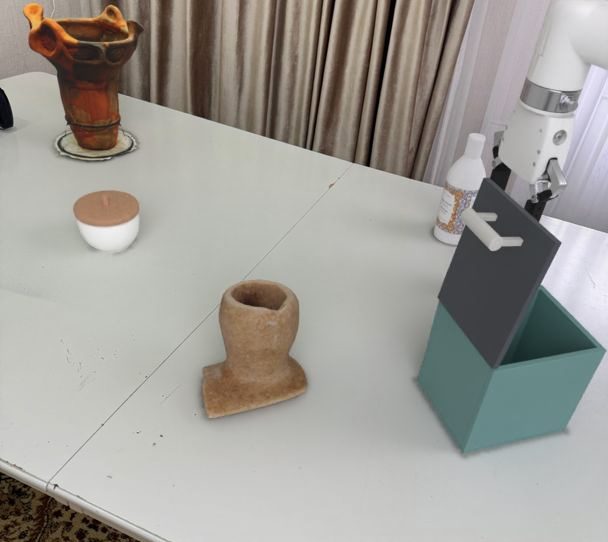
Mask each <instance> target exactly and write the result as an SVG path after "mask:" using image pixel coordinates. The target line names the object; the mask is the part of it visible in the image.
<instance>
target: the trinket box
mask: <svg viewBox="0 0 608 542" xmlns="http://www.w3.org/2000/svg"><path fill="white" fill-rule="evenodd" d="M72 211H73V215H74V218H75V221H76V225H77V228H78V231H79V233H80V235H81V237H82V238H83V239H84V241H85V242H86V243H87V244H88V245H89V246H91V247H92V248H94V249H95V250H98V251H99V252H102V253H108V254H111V253H118V252H119V253H120V252H122V251H124V250H126V249H127V248H128V247H129V246H131V244H133V243H134V241H135V240H136V238H137V237H138V234H139V230H140V223H141V221H140V220H141V218H140V217H141V216H140V202H139V200H138V199H137V198H136V197H135V196H133V195H132V194H131V193H128V192H125V191H121V190H111V189H110V190H108V189H107V190H106V189H105V190H98V191H93V192H90V193H87V194H84V195H82V196H81V197H79V198H78V199H77V200H76V201H75V202H74V204H73V206H72Z"/></svg>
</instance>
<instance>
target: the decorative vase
mask: <svg viewBox="0 0 608 542" xmlns="http://www.w3.org/2000/svg"><path fill="white" fill-rule="evenodd" d="M22 13H23V15H24V17H25V19H27V21H28V24H29V30H30V31H29V33H28V36H27V37H28V39H27V41H28V47H29V48H30V50H31V51H33V52H35V53H37V54H39V55H40V56H42V57H43V58H44V59H46V60H47V61H48V62H49V63H50V64H51V65H52V66H53V67H54V68H55V70H56V78H57V84H58V88H59V95H60V101H61V104H62V108H63V112H64V114H65V115H64V119H65V122H66V126H65V127H68V126H69V129H70V131H69V130H68V131H65V132H64V133H62V134H59V135H58V136H57V137H55V142H54V147H55V149H56V150H55V151H57V152H60V153H59V155H62V156H69V157H70V158H73V159H79V160H83V161H84V160H86V161H103V160H110V159H112V157H114V156H121V155H123V154H125V153H129V152H133V151H134V150H137V149H138V148H137V147H136V146H137V145H138V143H137V142H136V139H135V138H134V136H132V135H131V134H130V133H128V132H125V131H124V130H123V129H121V130H120V127H122V125H121V120H122V117H121V115H120V99H119V82H120V71H121V69H122V68H123V66H124V65H125V64H127V62H128V61H129V60H131V58H132V56H133V54H134V53H135V51H136V50H137V47H138V42H139V37H140V35H141V34H142V33H143V32H145V28H144V26H143V25H142V24H141V23H139V22H138V21H136V20H134V19H130V18H129V19H127V20H125V19H124V16H123V14H122V12H121V10H120V9H119V7H117V6H115V5H112V4H110V5H108V6H106V7H105V9H104V10H103V12H102V13H101V14H99V15H97V16H95V17H57V18H51V17H44V6H42V5H41V4H40V3H37V2H30V3H28V4H27V5H24V8H23V9H22Z"/></svg>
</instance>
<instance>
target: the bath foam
mask: <svg viewBox="0 0 608 542" xmlns="http://www.w3.org/2000/svg"><path fill="white" fill-rule="evenodd" d="M486 140H487V139H486V136H485V135H484V134H482V133H477V132H472V133H469V135H468V136H467V140H466V145H465V149H464V153H463V155H462V156H460V157H459V158H457V160H456V161H455V162H454V163H453V164H452V165H451V167H450V168H449V171H448V172H447V175H446V178H445V182H444V185H443V191H442V195H441V199H440V203H439V208H438V211H437V215H436V219H435V224H434V228H433V235H434V237H435V238H436V239H437V240H438V241H440V242H442V243H444V244H447V245H453V246H457V245H458V242H459V240H460V237H461V235H462V232H463V229H464V227H465V223H464V222H463V221H462V220H461V213H462V212H463V211H464V210H465V209H467V208H472V206H473V204H474V201H475V198H476V196H477V193H478V191H479V188H480V186H481V183H482V180H483V178H487V175H486V169H485V166H484V162H483V160H482V158H481V157H482V153H483V150H484V146H485V143H486Z"/></svg>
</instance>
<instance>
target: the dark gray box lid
mask: <svg viewBox="0 0 608 542" xmlns="http://www.w3.org/2000/svg"><path fill="white" fill-rule="evenodd" d="M461 220H462V221H463V222H464V223H465V227H464V229H463V232H462V235H461V237H460V240H459V242H458V245H456V247H455V250H454V252H453V256H452V258H451V261H450V263H449V266H448V268H447V271H446V273H445V276H444V279H443V281H442V283H441V286H440V289H439V291H438V294H437V296H436V298H437V299H438V302H439V301H440V302H441V303H442V304H443V306H444V307H445V308H446V310H447V311H448V312H449V314H450V315H451V316H452V317H453V319H454V320H455V321H456V323H457V324H458V325H459V327H460V328H461V329H462V330H463V332H464V333H465V334H466V336H467V337H468V338H469V340H470V341H471V342H472V344H473V345H474V346H475V347H476V349H477V350H478V351H479V353H480V354H481V355H482V357H483V358H484V359H485V360H486V362H487V363H488V364H489V366H490V367H491V368H492V369H498V367H499V365H500V363H501V361H502V359H503V357H504V355H505V353H506V352H507V350H508V348H509V346H510V344H511V342H512V340H513V338H514V336H515V334H516V332H517V330H518V328H519V326H520V324H521V322H522V320H523V318H524V316H525V314H526V312H527V310H528V308H529V306H530V304H531V302H532V300H533V298H534V297H535V295H536V293H537V291H538V289H539V287H540V285H542V283H543V281H544V279H545V278H546V277H545V276H546V275H547V273H548V271H549V269H550V267H551V265H552V264H553V261H554V259H555V257H556V256H557V254H558V251H559V249H560V247H561V246H562V244H563V243H562V241H561V240H560V239H559V238H557V237H556V236H555V235H554V234H553V233H552V232H551V231H550V230H549V229H547V228H546V227H545V226H544V225H543V224H541V223H540V221H539V222H538V221H537V220H536V219H535V218H534V217H533V216H531V215H530V214H529V213H528V212H527V211H526V210H525V209H524V207H523V206H522V205H521V204H519V203H518V202H517V201H516V200H515V199H514V198H513V197H512V196H510V195H509V194H508V193H507V192H506V190H505V191H503V190H502V189H501V188H500V187H499V186H498V185H497V184H496V183H495V182H493V181H492V180H491V179H490V177H486V178H483V180H482V183H481V186H480V188H479V191H478V193H477V196H476V198H475V201H474V204H473V206H472V208H467V209H465V210H464V211H463V212H462V213H461Z"/></svg>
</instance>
